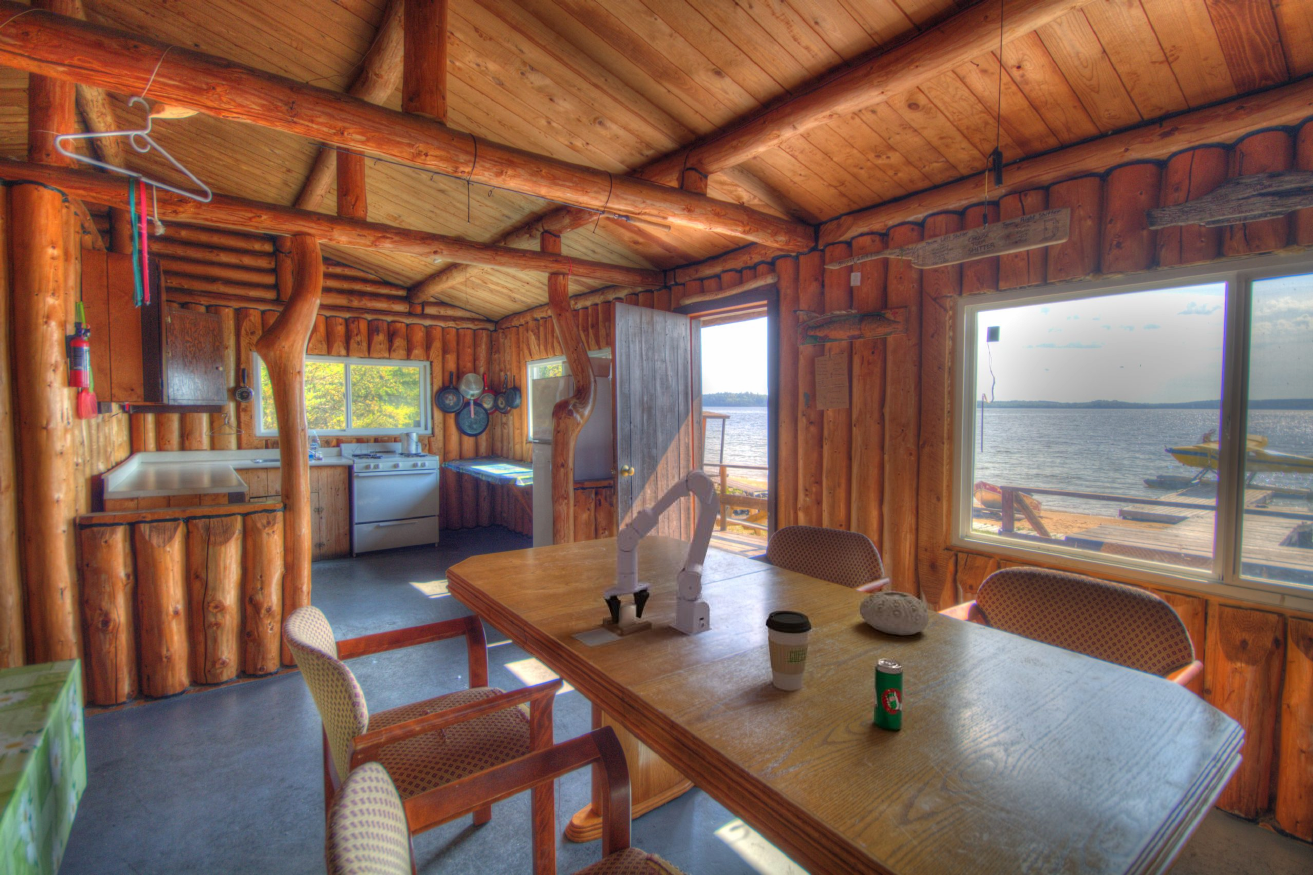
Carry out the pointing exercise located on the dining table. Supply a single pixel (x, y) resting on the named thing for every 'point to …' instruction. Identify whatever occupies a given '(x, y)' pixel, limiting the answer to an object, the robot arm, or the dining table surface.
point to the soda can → (888, 694)
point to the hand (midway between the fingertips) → (627, 619)
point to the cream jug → (627, 614)
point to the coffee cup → (788, 648)
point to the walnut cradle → (627, 629)
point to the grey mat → (596, 637)
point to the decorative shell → (894, 612)
